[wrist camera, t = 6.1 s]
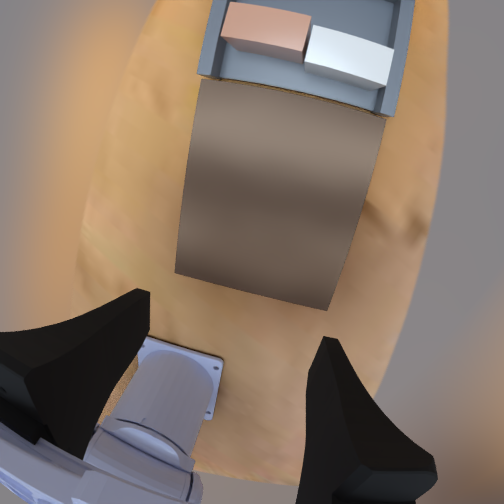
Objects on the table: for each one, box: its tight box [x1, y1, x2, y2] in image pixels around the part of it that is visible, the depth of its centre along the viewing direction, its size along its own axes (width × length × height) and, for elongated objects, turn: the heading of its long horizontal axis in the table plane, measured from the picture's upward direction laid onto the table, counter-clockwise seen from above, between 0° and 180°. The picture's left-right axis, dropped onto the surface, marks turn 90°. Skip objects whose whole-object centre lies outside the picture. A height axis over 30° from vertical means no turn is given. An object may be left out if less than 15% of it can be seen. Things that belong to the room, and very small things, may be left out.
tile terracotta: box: [221, 2, 312, 64], centre depth 14 cm, size 4×4×2 cm
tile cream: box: [305, 25, 394, 91], centre depth 14 cm, size 4×4×2 cm
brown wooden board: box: [175, 79, 386, 311], centre depth 19 cm, size 12×10×3 cm
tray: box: [197, 0, 415, 117], centre depth 14 cm, size 8×11×4 cm
